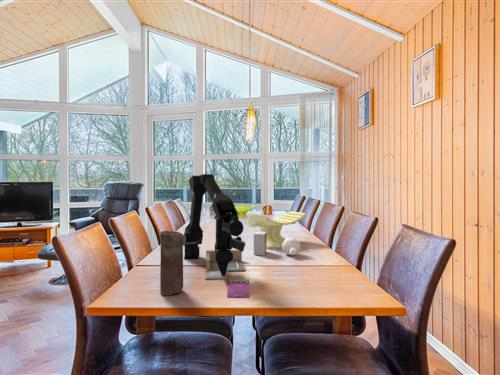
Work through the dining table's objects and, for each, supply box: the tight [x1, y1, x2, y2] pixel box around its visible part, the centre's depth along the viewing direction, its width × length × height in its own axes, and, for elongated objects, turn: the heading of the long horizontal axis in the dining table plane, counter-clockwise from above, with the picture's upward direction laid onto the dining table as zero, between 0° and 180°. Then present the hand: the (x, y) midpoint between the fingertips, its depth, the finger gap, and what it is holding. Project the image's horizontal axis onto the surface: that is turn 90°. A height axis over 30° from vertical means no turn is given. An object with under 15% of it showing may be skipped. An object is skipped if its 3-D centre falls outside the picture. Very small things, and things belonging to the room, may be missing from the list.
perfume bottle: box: [281, 236, 301, 257], centre depth 145 cm, size 9×9×12 cm
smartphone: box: [226, 279, 251, 299], centre depth 100 cm, size 7×15×1 cm, turn 1°
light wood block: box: [204, 269, 228, 280], centre depth 112 cm, size 8×4×7 cm, turn 98°
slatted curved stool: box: [248, 210, 307, 249], centre depth 171 cm, size 30×16×18 cm, turn 126°
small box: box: [253, 231, 267, 256], centre depth 149 cm, size 8×6×10 cm
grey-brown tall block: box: [159, 230, 184, 296], centre depth 97 cm, size 8×7×20 cm
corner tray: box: [205, 249, 247, 273], centre depth 126 cm, size 16×16×5 cm
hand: (223, 272), depth 113 cm, fingers open, 9 cm apart
